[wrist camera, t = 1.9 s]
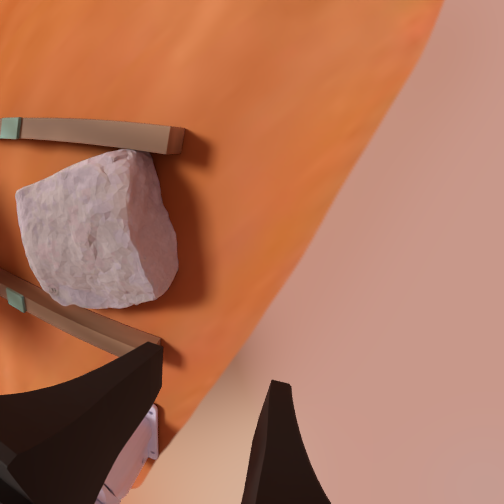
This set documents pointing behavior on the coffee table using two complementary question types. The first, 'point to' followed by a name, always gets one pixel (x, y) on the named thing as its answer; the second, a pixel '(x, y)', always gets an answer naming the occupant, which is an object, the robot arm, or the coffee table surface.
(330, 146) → the coffee table surface
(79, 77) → the coffee table surface
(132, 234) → the stone block
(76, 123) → the channel
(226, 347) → the coffee table surface
